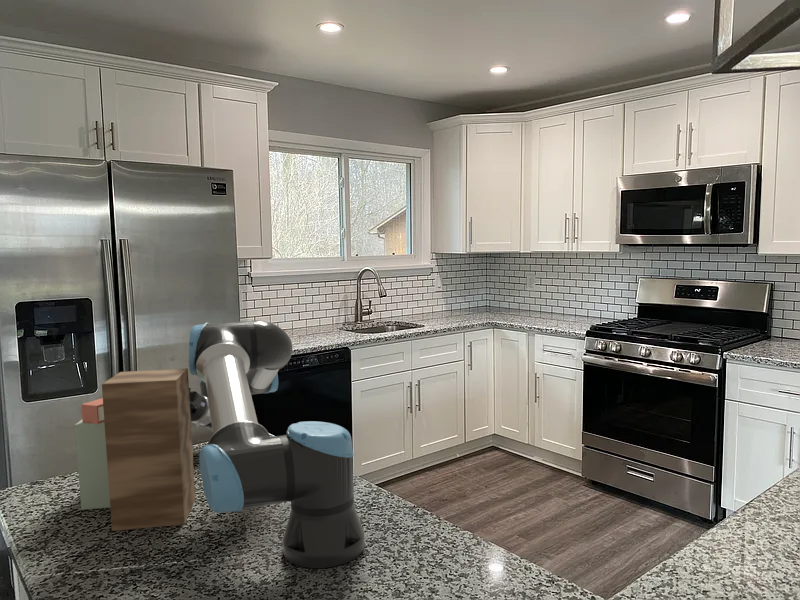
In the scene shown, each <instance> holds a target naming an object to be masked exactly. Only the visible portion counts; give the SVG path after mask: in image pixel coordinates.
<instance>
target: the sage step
mask: <svg viewBox="0 0 800 600" xmlns="http://www.w3.org/2000/svg"><path fill="white" fill-rule="evenodd" d="M74 430H75V431H74V432H75V444H76V455H77V456H76V458H77V472H78V483H79V484H78V485H79V499H80V510H82V511H83V510H93V509H94V510H95V509H105V508H106V509H107V508H110V495H109V480H108V466H107V452H106V438H105V424H104V422H102V423H100V424H93V423H84V422H83V421H82V419H80V420H79V421H78V422H76V423H75V424H74Z"/></svg>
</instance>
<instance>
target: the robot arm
mask: <svg viewBox="0 0 800 600" xmlns="http://www.w3.org/2000/svg"><path fill="white" fill-rule="evenodd" d="M293 350H294V349H293V343H292V340H291V338H290V336H289V334H288V333H287V332H286V331H285V330H284V329H283V328H281V327H280V326H278V325H277V324H274V323H272V322H270V321H265V320H261V319H260V320H254V319H253V320H244V321H230V322H229V321H228V322H213V323H210V322H205V323H203V324H202V323H201V324H195V325H194V326H192V327H191V328H190V331H189V338H188V372H189V373H190V374H191V375H192V376H197V377H198V378H199V387H200V388H199V389H200V393H198V392H197V391H192V390H191V389H192V388H191V387H189V398H190V415H191V424H192V423H193V424H195V425H196V427H197V428H199V427H204V428H205V429H208V430H210V431H211V432H212V435H211V436H210V438H209V440H208V441H207V445H206V446H203V447H201V448H200V450H199V457H198V459H199V471H200V477H201V481H202V489H203V493H204V497H205V500H206V503H207V505H208V507H209V509H210V510H212V512H215V513H219V514H223V513H231V512H233V513H238V512H241V511H247V510H250V509H256V508H261V507H266V506H271V505H277V504H282V503H287V502H290V513H289V516H288V521H287V524H286V527H285V531H284V535H283V538H282V552H283V556H284V558H285V559H286V560H287V561H288V562H289V563H291V564H293V565H295V566H299V567H303V568H307V569H308V568H309V569H326V568H333V567H338V566H341V565H343V564H346V563H349V562H350V561H353V560H354V559H357V558H358V556H360V555H361V553H362V552H364V549H365V541H366V540H365V531H364V528H363V525H362V522H361V519H360V517H359V514H358V512H357V509H356V506H355V497H354V491H355V489H354V463H353V461H354V460H353V457H354V450H353V443H352V442H353V441H352V436H351V433H350V432H349V430H348V429H346V428H345V427H343V426H341V425H339V424H336V423H332V422H325V421H314V420H313V421H312V420H311V421H310V420H309V421H308V420H307V421H299V422H296V423H291V424H290V425H289V426H288V427H287V430H286V434H283V435H276V436H271V435H270V433H269V432H268V430H267V429H266V428H265V427H264V426H263V425H262V424H260V423H259V422H258V417H257V414H256V409H255V405H254V401H253V398H252V397H253V396H252V395H258V394H270V393H275V392H276V391H278V389H279V376H278V372H279V370H280V369H283V368H284V367H285V366H286V365H287V364H288V363H289V361H290V359H291V357H292V354H293Z"/></svg>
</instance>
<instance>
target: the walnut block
mask: <svg viewBox="0 0 800 600" xmlns="http://www.w3.org/2000/svg"><path fill="white" fill-rule="evenodd" d="M189 388H190V385H189V367H188V368H171V369H170V368H169V369H151V370H150V369H149V370H135V371H134V370H133V371H130V370H129V371H120V372H118V373H117V374H115V375H114V376H112V377H111V378H109V379H108V380H106V381H104V382H103V383H102V384H101V392H102V395H101V396H102V398H103V410H104V424H105V438H106V452H107V466H108V480H109V495H110V507H109V508H110V520H111V522H110V523H111V532H112V531H125V530H136V529H149V528H157V527H168V526H179V525H186V522H187V520H188V517H189V515H190V514H191V511H192V508H193V507H194V505H195V502H196V490H195V471H194V470H195V469H194V454H193V452H194V451H193V450H194V449H193V439H192V438H193V437H192V436H193V434H192V422H191V415H190V398H189Z"/></svg>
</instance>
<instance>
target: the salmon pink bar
mask: <svg viewBox="0 0 800 600" xmlns="http://www.w3.org/2000/svg"><path fill="white" fill-rule="evenodd" d="M80 405H81V418H82V419H81V420H82V421H83V422H84V423H93V424H100V423H102V422H104V410H103V397H102V398H99V399H94V400H91V401H88V402H84V403H81V404H80Z"/></svg>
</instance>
